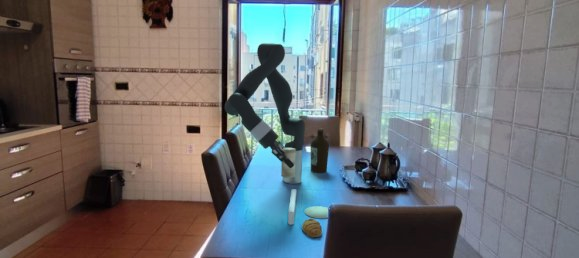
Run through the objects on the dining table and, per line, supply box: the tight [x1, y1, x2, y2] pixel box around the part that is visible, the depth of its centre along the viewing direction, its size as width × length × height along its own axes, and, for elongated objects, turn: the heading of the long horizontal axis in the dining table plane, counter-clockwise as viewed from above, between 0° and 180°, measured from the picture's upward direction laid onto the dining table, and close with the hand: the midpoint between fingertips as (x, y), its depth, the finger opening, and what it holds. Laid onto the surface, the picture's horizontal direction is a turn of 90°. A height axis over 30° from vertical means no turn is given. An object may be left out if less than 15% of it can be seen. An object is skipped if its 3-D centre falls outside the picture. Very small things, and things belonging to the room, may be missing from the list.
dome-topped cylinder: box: [280, 148, 296, 178], centre depth 145 cm, size 6×6×11 cm
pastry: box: [301, 218, 323, 238], centre depth 129 cm, size 9×7×4 cm
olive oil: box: [310, 127, 330, 174], centre depth 208 cm, size 11×11×25 cm
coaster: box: [304, 205, 329, 220], centre depth 148 cm, size 12×12×1 cm
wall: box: [287, 188, 297, 225], centre depth 148 cm, size 26×2×5 cm, turn 177°
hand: (292, 164), depth 145 cm, fingers closed on dome-topped cylinder, 5 cm apart
